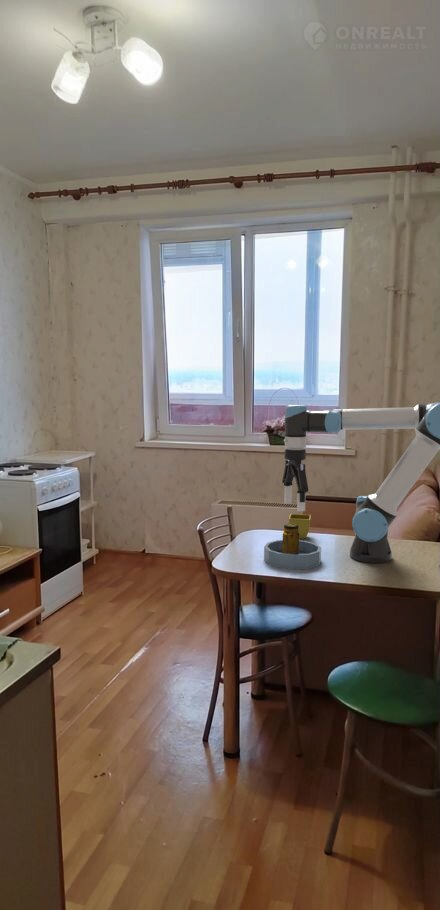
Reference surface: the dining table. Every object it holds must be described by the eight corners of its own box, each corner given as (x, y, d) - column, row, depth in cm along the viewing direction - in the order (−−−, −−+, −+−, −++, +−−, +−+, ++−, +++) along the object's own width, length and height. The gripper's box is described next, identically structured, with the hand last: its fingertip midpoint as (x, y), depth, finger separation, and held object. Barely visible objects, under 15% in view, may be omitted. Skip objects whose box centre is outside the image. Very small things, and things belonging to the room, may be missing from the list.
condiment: (280, 554, 216) (281, 522, 214) (303, 554, 215) (304, 523, 214) (282, 560, 208) (282, 527, 207) (305, 560, 208) (306, 527, 207)
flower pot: (309, 540, 239) (310, 519, 238) (288, 539, 241) (288, 518, 240) (310, 535, 248) (311, 514, 247) (289, 534, 250) (290, 513, 248)
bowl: (308, 551, 224) (308, 538, 224) (329, 567, 205) (329, 553, 204) (258, 554, 220) (258, 541, 219) (274, 570, 200) (275, 556, 200)
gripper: (274, 445, 219) (273, 500, 221) (297, 452, 194) (296, 515, 197) (293, 444, 220) (292, 500, 223) (318, 452, 196) (317, 513, 199)
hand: (294, 507), depth 210 cm, fingers open, 13 cm apart
